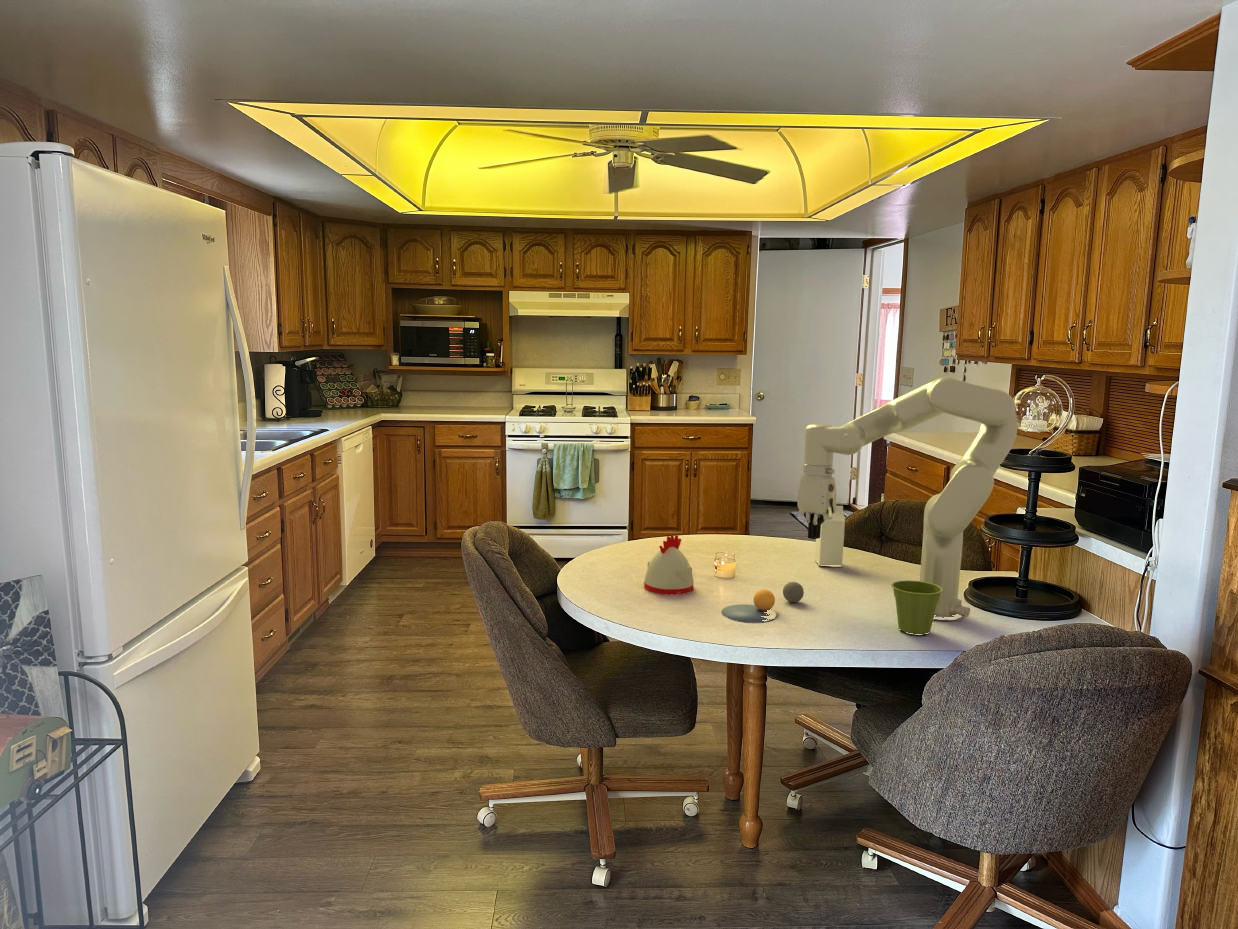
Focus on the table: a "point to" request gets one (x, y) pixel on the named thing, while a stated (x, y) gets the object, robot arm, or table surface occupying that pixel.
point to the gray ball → (793, 592)
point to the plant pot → (915, 605)
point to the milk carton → (831, 540)
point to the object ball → (764, 600)
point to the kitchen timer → (669, 570)
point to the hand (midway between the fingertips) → (813, 538)
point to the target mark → (744, 613)
